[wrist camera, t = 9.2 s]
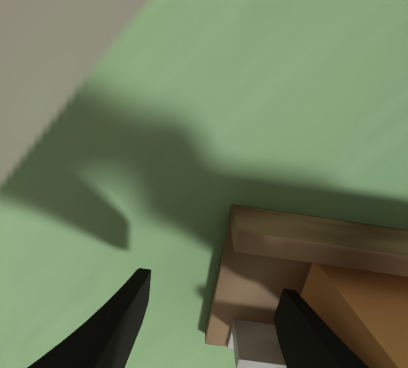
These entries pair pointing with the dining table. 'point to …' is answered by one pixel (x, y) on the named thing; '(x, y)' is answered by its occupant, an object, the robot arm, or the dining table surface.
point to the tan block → (363, 311)
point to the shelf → (285, 272)
